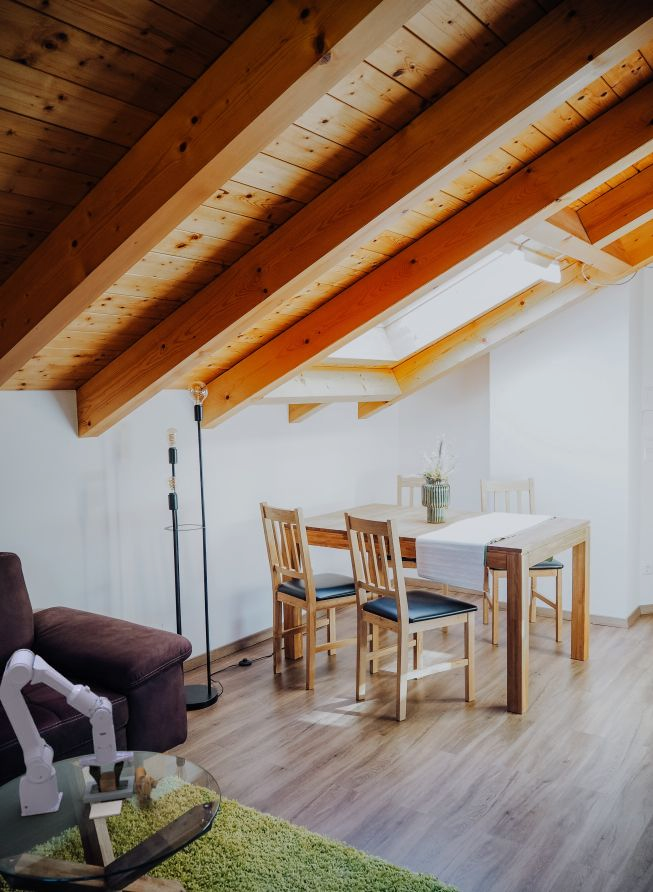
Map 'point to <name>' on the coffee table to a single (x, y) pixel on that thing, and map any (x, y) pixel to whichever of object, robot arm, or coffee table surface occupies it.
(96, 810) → the rubber mat
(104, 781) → the walnut block
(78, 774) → the coffee table surface
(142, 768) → the lion figurine
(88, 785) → the puzzle board
